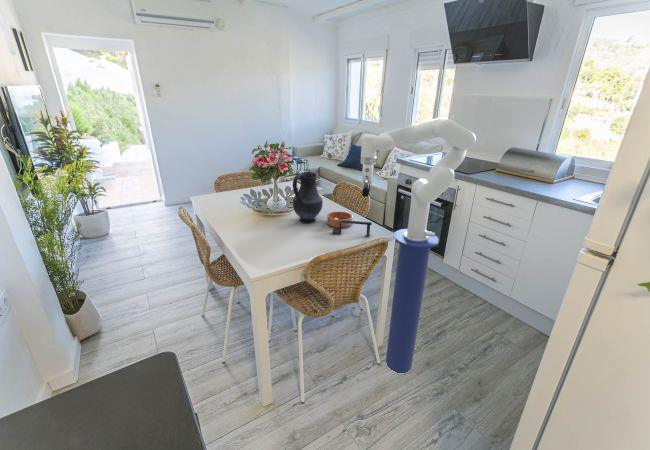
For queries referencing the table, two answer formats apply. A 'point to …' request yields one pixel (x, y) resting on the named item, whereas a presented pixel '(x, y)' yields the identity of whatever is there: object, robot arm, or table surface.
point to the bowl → (340, 216)
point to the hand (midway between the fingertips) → (366, 193)
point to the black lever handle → (338, 231)
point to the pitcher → (307, 197)
